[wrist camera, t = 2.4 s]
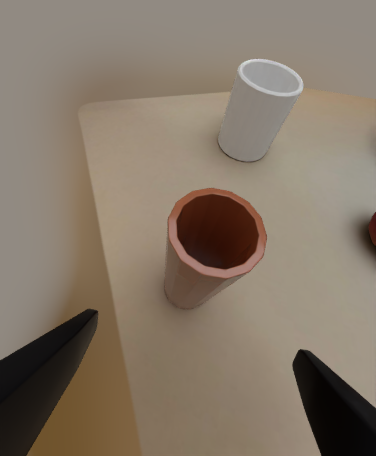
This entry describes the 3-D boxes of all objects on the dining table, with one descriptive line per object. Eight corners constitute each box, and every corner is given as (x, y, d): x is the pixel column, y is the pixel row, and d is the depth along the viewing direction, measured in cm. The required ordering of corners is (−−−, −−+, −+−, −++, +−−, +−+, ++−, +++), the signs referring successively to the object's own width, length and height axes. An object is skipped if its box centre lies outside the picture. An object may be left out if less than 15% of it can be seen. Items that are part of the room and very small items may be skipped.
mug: (276, 127, 35) (313, 61, 27) (258, 169, 30) (297, 103, 21) (235, 111, 36) (258, 42, 28) (210, 148, 31) (229, 76, 22)
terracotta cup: (193, 319, 19) (241, 301, 8) (154, 290, 20) (145, 236, 8) (216, 280, 21) (281, 220, 10) (180, 256, 22) (201, 173, 10)
